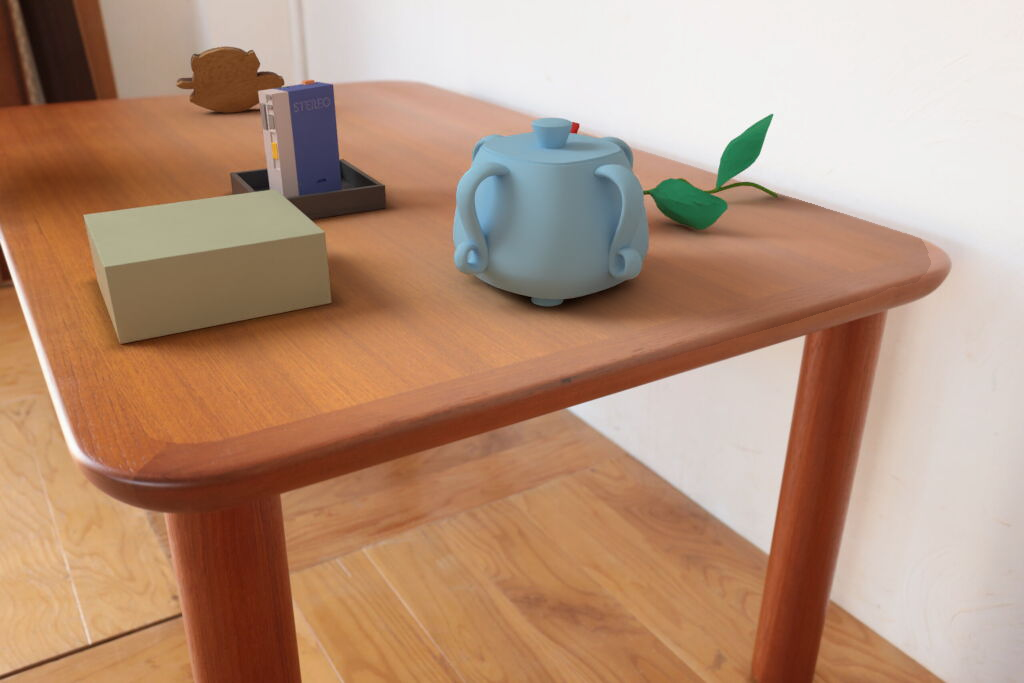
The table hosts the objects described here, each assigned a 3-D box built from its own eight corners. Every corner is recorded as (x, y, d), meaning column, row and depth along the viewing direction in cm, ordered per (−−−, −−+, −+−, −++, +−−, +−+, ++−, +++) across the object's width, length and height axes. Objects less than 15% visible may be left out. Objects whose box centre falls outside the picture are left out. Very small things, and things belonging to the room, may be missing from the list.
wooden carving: (283, 104, 149) (276, 41, 144) (288, 109, 145) (282, 45, 141) (179, 112, 143) (169, 47, 138) (182, 118, 139) (171, 50, 135)
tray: (232, 194, 100) (229, 172, 99) (345, 179, 106) (343, 158, 105) (263, 226, 90) (260, 202, 89) (386, 208, 96) (385, 185, 95)
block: (97, 282, 76) (83, 214, 74) (283, 252, 83) (275, 188, 81) (120, 344, 65) (104, 267, 62) (331, 303, 72) (325, 232, 70)
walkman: (326, 187, 101) (316, 78, 96) (342, 191, 100) (333, 80, 95) (268, 202, 96) (254, 87, 91) (284, 207, 94) (270, 90, 89)
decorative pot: (430, 309, 71) (423, 138, 65) (476, 243, 85) (474, 97, 79) (637, 326, 68) (648, 148, 62) (649, 254, 82) (659, 104, 77)
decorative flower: (834, 230, 89) (850, 132, 85) (548, 253, 83) (550, 148, 79) (766, 191, 102) (777, 104, 97) (512, 209, 95) (513, 116, 91)
